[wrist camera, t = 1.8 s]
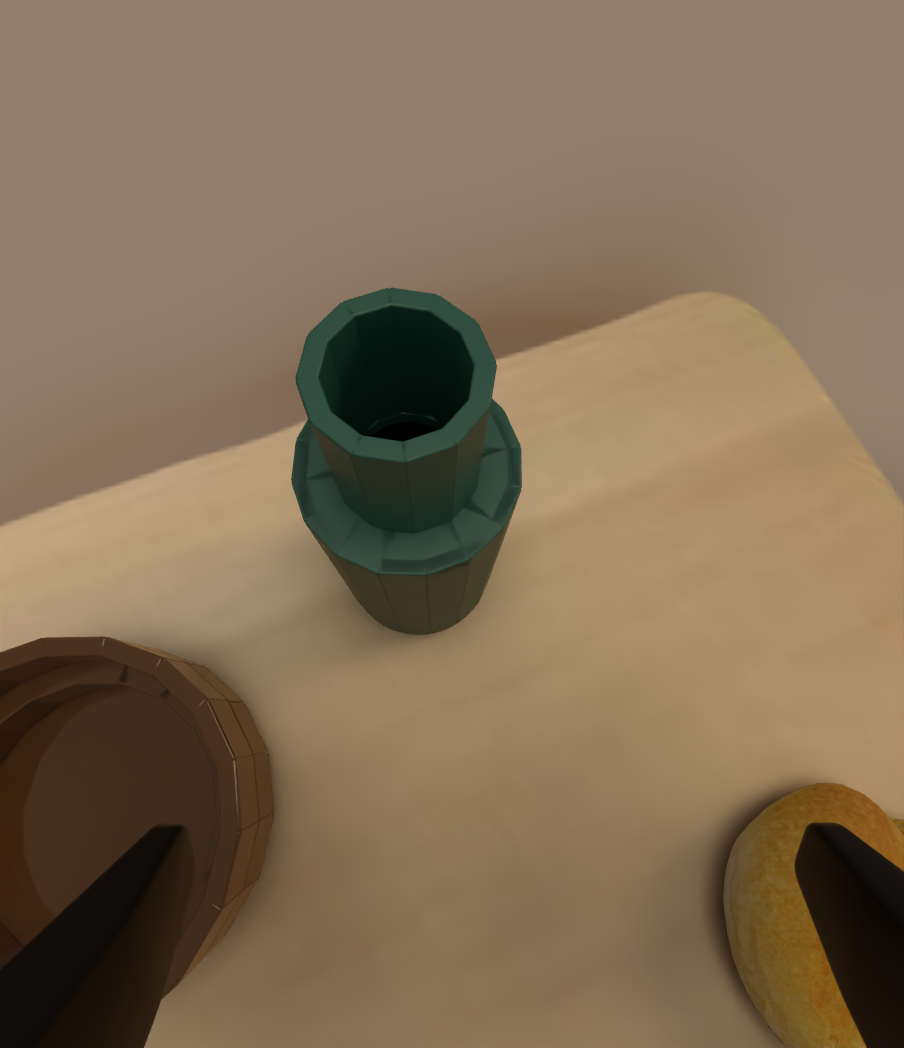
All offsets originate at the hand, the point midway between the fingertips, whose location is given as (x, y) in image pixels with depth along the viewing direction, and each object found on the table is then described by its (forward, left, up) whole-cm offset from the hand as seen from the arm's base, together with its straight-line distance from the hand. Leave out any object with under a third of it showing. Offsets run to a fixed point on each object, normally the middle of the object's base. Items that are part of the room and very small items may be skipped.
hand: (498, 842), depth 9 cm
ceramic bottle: (+5, +5, -13) cm, 15 cm away
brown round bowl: (-8, +9, -13) cm, 18 cm away
